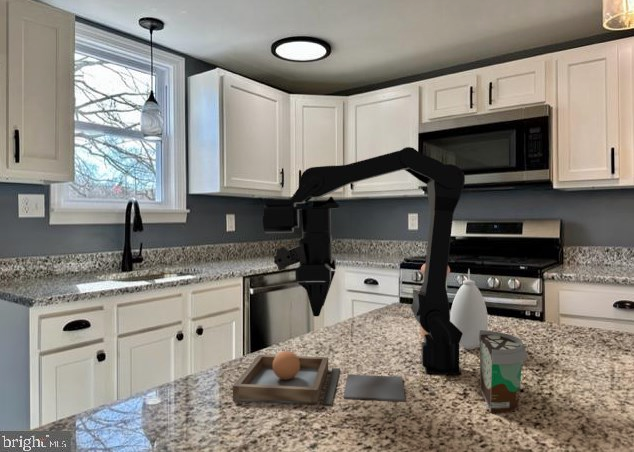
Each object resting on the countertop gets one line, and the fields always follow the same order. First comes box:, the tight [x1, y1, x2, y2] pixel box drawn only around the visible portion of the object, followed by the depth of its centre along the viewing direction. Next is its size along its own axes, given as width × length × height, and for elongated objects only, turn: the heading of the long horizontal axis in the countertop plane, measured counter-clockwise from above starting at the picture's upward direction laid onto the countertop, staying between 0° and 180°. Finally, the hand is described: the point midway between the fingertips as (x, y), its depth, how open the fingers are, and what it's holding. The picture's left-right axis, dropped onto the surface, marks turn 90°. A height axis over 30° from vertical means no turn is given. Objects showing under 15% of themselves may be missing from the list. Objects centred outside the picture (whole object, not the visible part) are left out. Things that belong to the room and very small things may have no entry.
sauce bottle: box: [450, 269, 489, 351], centre depth 98 cm, size 8×8×18 cm
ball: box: [273, 350, 300, 380], centre depth 80 cm, size 5×5×5 cm
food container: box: [479, 330, 528, 414], centre depth 70 cm, size 12×6×10 cm, turn 168°
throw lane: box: [232, 354, 406, 407], centre depth 78 cm, size 28×16×2 cm, turn 82°
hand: (318, 310), depth 86 cm, fingers open, 9 cm apart
